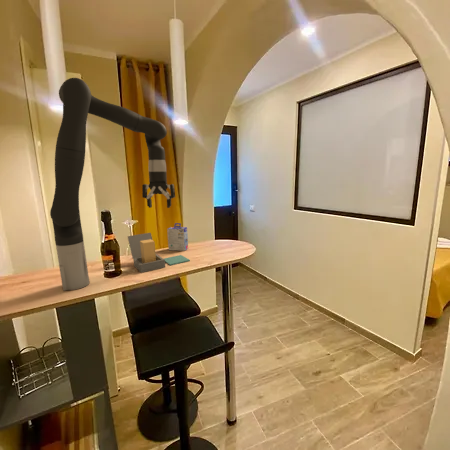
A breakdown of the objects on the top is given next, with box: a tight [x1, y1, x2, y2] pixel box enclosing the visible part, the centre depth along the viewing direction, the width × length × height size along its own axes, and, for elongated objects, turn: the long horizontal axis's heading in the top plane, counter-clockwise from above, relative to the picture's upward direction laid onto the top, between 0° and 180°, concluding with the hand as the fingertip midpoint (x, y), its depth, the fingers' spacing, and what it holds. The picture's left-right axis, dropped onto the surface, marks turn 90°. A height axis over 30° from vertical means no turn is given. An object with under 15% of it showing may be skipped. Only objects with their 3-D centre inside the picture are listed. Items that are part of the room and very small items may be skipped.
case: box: [132, 253, 166, 273], centre depth 124 cm, size 11×11×4 cm
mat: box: [163, 254, 191, 266], centre depth 132 cm, size 10×10×1 cm
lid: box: [127, 232, 157, 259], centre depth 131 cm, size 11×11×2 cm
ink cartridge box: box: [166, 222, 189, 252], centre depth 149 cm, size 10×6×14 cm, turn 78°
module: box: [140, 239, 157, 264], centre depth 124 cm, size 5×5×12 cm
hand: (159, 207), depth 123 cm, fingers open, 8 cm apart
